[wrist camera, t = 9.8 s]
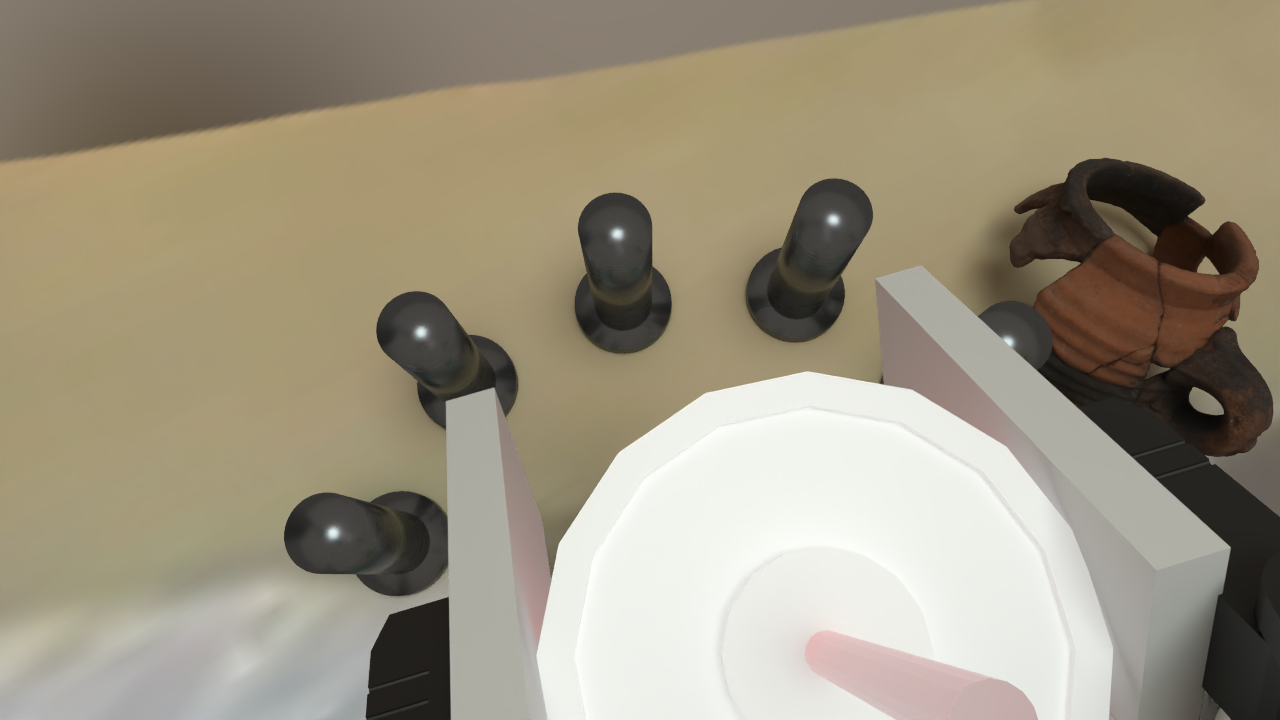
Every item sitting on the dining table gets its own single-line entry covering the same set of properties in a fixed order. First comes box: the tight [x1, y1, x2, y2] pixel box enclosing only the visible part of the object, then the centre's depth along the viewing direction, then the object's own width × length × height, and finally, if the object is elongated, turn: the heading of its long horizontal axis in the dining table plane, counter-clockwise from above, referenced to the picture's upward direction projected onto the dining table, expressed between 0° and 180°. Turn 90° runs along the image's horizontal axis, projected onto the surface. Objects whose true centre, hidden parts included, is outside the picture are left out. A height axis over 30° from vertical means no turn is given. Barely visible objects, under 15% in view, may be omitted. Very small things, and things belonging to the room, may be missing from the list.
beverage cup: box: [536, 371, 1113, 720], centre depth 12 cm, size 6×6×14 cm
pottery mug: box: [1010, 158, 1273, 457], centre depth 35 cm, size 12×10×8 cm
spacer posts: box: [284, 179, 1053, 596], centre depth 33 cm, size 26×11×9 cm, turn 106°
